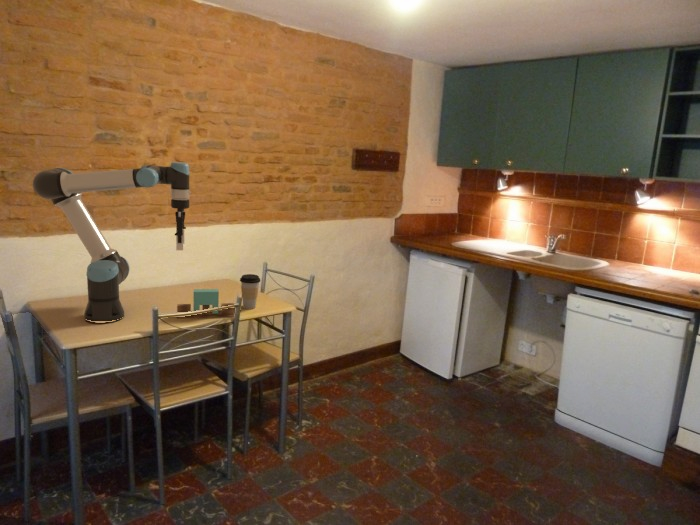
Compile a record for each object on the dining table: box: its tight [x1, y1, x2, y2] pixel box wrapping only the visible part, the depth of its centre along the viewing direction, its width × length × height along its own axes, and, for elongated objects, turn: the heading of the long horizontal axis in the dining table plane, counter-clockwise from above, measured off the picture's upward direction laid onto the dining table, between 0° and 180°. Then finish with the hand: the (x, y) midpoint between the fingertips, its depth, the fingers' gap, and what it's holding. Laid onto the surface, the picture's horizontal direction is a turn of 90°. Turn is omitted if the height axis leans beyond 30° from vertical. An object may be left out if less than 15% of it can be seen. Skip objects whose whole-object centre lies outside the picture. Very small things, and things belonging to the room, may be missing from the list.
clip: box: [192, 288, 220, 314], centre depth 224 cm, size 10×4×10 cm, turn 106°
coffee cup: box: [239, 273, 261, 310], centre depth 239 cm, size 9×9×15 cm
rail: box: [176, 302, 235, 319], centre depth 225 cm, size 24×6×5 cm, turn 106°
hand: (180, 246), depth 225 cm, fingers open, 13 cm apart
